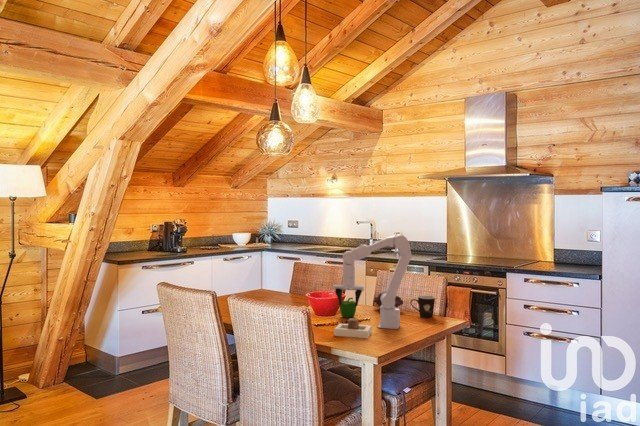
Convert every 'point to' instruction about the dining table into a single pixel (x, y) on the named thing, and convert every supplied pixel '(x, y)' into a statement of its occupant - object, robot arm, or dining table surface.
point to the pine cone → (397, 300)
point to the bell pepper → (348, 308)
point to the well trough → (353, 331)
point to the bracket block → (353, 323)
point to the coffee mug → (425, 306)
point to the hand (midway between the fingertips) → (348, 305)
